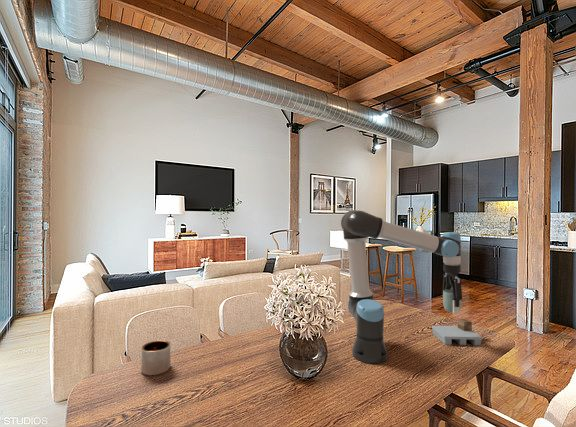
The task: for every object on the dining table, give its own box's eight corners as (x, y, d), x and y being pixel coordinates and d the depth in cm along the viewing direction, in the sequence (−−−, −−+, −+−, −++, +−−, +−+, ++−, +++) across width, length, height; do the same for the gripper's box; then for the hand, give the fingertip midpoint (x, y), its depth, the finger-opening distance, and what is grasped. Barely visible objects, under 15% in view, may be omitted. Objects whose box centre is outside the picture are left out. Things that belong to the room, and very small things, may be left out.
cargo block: (463, 331, 157) (463, 322, 157) (457, 327, 162) (457, 319, 162) (471, 330, 158) (471, 321, 158) (465, 327, 163) (465, 318, 162)
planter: (176, 364, 129) (176, 341, 129) (158, 378, 118) (158, 353, 118) (153, 360, 132) (154, 338, 131) (134, 374, 121) (134, 349, 121)
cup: (457, 309, 156) (457, 289, 156) (463, 314, 148) (463, 293, 148) (440, 308, 157) (440, 289, 157) (446, 314, 149) (446, 293, 149)
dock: (444, 344, 150) (444, 336, 150) (431, 333, 164) (431, 325, 164) (482, 345, 150) (482, 337, 150) (466, 333, 164) (466, 326, 164)
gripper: (471, 268, 141) (471, 317, 142) (449, 260, 162) (449, 303, 162) (454, 268, 142) (454, 317, 142) (435, 260, 162) (435, 303, 163)
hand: (451, 310), depth 152 cm, fingers closed on cup, 8 cm apart
